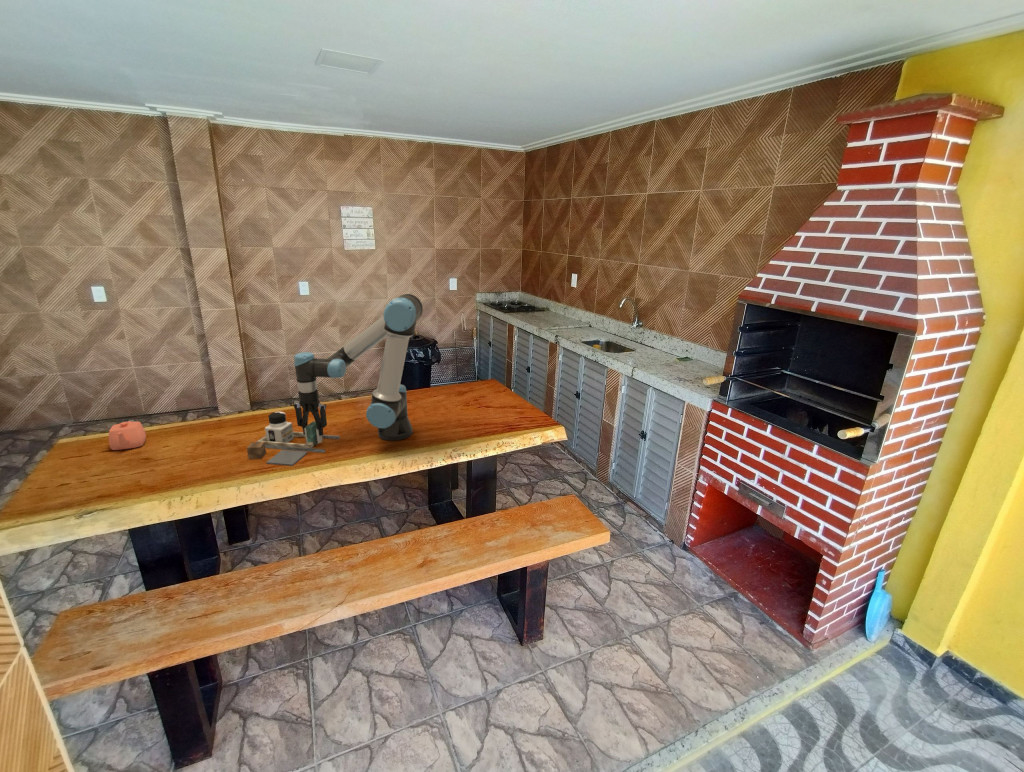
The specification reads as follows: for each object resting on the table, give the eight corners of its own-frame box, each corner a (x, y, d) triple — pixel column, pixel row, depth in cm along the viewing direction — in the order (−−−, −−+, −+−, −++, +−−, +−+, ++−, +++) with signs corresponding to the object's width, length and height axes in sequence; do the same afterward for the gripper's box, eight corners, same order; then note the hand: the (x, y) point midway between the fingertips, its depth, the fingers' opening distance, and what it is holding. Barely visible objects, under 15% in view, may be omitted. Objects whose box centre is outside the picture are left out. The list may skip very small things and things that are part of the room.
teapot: (150, 435, 215) (144, 413, 212) (141, 452, 200) (135, 429, 196) (118, 440, 210) (112, 417, 207) (106, 458, 195) (99, 434, 192)
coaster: (307, 453, 202) (307, 451, 202) (292, 465, 192) (292, 464, 191) (282, 451, 203) (282, 449, 203) (266, 463, 193) (266, 462, 193)
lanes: (339, 438, 216) (339, 435, 215) (324, 452, 203) (323, 450, 202) (272, 433, 220) (272, 430, 219) (252, 446, 206) (252, 444, 206)
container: (283, 446, 208) (278, 417, 203) (266, 444, 209) (262, 415, 205) (294, 438, 215) (290, 410, 211) (278, 436, 216) (274, 409, 212)
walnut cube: (266, 452, 202) (264, 441, 200) (261, 458, 197) (260, 447, 195) (253, 453, 201) (251, 442, 199) (248, 459, 196) (246, 447, 195)
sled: (324, 438, 215) (321, 419, 212) (310, 449, 204) (307, 429, 201) (274, 434, 218) (271, 415, 215) (258, 445, 207) (255, 425, 204)
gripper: (332, 388, 205) (337, 439, 212) (292, 385, 207) (299, 436, 214) (323, 394, 198) (329, 446, 205) (282, 391, 200) (290, 443, 207)
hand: (314, 441), depth 210 cm, fingers open, 4 cm apart
